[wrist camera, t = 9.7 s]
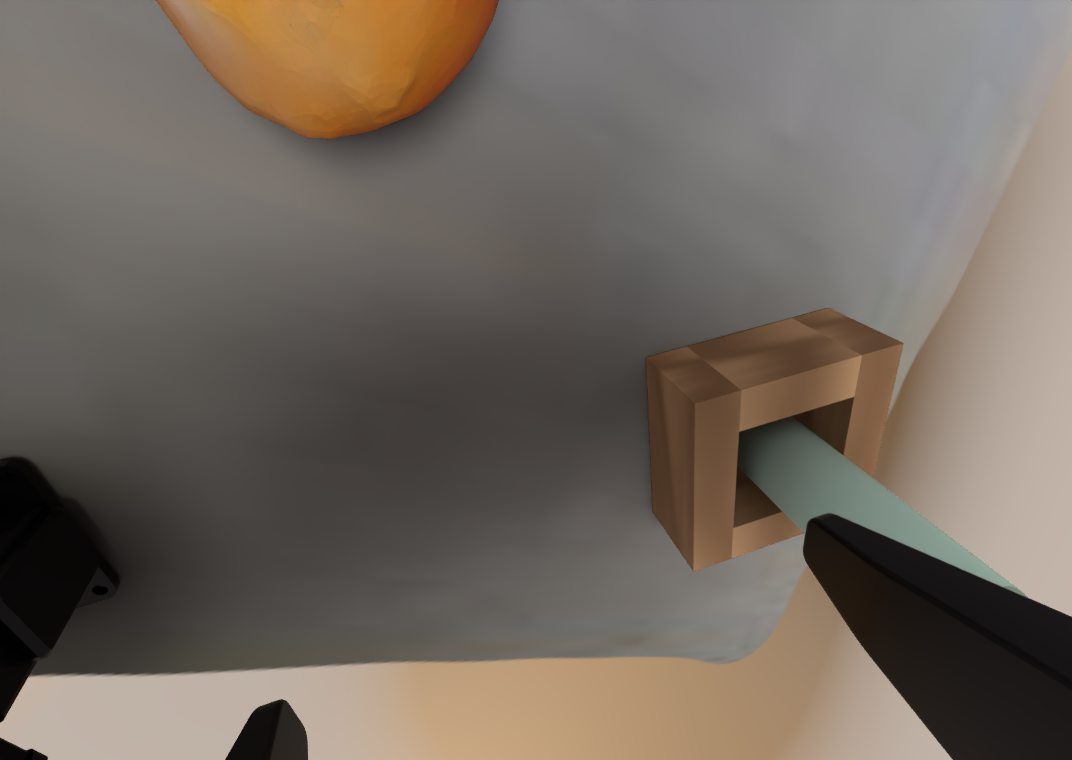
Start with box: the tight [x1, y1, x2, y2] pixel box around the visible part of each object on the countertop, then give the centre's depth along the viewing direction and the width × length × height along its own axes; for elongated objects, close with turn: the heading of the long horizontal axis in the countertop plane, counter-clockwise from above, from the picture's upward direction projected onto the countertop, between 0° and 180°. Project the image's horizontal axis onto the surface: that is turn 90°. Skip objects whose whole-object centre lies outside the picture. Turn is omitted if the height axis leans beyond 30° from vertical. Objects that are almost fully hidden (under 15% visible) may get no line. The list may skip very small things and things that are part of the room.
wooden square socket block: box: [646, 308, 904, 572], centre depth 24 cm, size 9×9×4 cm
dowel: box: [737, 416, 1028, 598], centre depth 20 cm, size 3×3×14 cm
